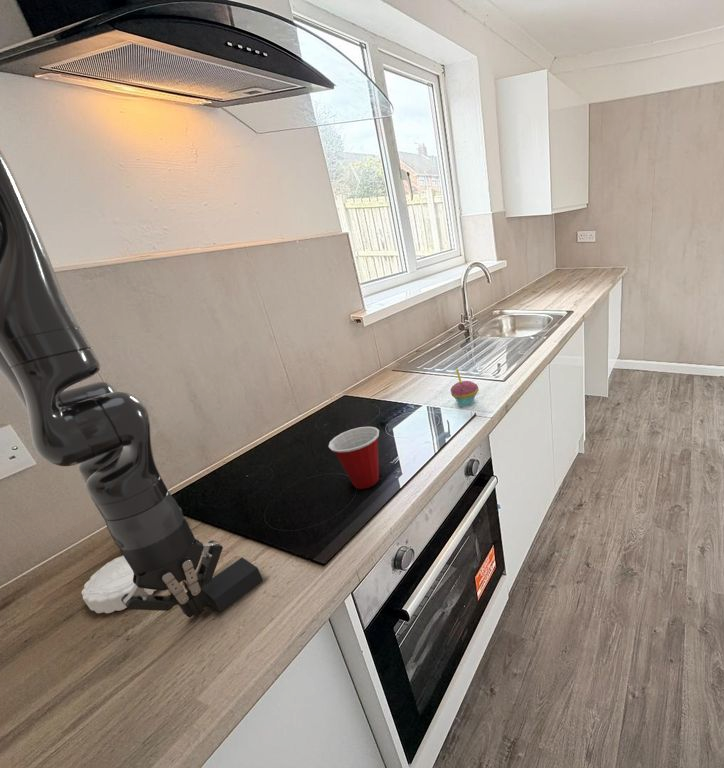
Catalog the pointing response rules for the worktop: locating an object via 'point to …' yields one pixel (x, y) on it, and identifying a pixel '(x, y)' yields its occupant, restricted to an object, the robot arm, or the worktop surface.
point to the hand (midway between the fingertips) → (197, 612)
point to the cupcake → (464, 391)
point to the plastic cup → (358, 455)
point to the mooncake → (110, 587)
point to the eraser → (231, 584)
